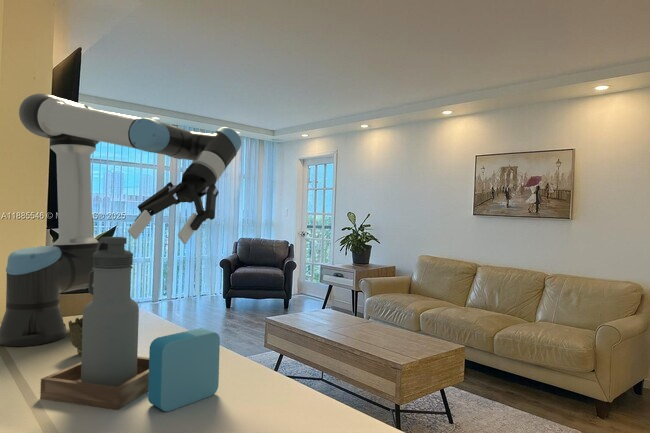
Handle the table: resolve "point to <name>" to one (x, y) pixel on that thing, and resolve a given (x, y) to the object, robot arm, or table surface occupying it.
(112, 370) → the water bottle
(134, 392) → the walnut tray
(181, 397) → the data package
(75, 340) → the cup
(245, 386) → the table surface
